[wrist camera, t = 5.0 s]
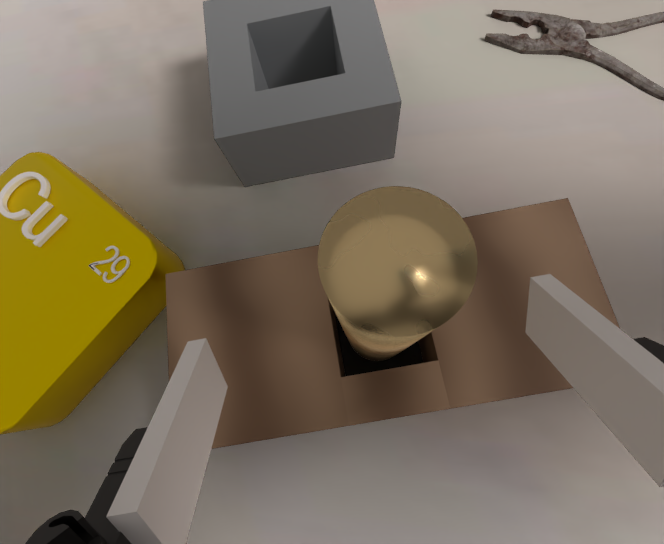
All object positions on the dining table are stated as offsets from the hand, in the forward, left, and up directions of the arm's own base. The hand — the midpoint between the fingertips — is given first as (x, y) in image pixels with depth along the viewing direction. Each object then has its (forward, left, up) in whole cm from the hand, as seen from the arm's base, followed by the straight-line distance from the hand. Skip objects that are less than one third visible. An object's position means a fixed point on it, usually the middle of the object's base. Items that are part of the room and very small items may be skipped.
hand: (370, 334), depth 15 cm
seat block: (+1, -20, -10) cm, 22 cm away
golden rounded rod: (-1, -1, -10) cm, 10 cm away
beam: (-1, -1, -10) cm, 10 cm away
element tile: (+22, -8, -10) cm, 26 cm away
